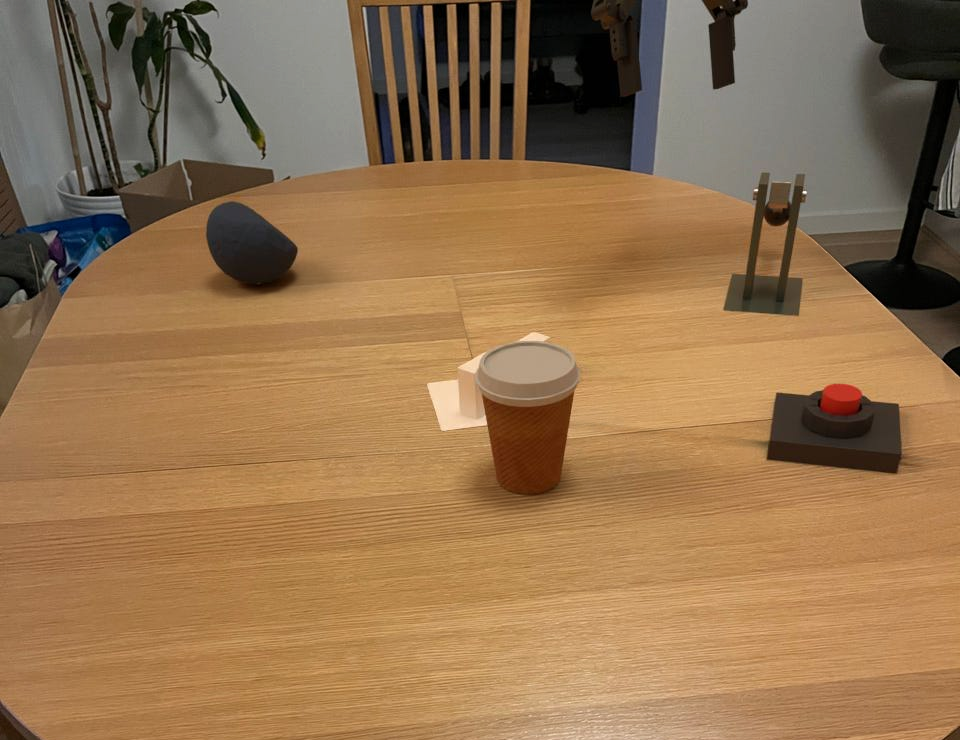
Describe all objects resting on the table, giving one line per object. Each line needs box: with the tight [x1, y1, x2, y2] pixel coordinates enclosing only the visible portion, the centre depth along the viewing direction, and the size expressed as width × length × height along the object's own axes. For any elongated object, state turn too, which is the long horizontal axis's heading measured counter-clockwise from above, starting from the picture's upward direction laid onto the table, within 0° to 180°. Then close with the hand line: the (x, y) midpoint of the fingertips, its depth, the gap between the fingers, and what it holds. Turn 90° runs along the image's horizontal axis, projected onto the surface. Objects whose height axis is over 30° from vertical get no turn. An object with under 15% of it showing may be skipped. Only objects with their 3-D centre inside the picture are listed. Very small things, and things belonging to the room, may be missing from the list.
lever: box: [763, 181, 792, 227], centre depth 120 cm, size 17×4×4 cm, turn 164°
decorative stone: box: [205, 200, 299, 285], centre depth 131 cm, size 12×12×10 cm
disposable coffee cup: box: [475, 340, 581, 495], centre depth 90 cm, size 10×10×12 cm
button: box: [820, 383, 863, 416], centre depth 93 cm, size 4×4×2 cm
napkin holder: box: [426, 331, 552, 432], centre depth 104 cm, size 15×11×6 cm
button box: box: [766, 389, 903, 474], centre depth 95 cm, size 12×10×4 cm
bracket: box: [722, 172, 808, 317], centre depth 117 cm, size 12×9×15 cm
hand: (678, 90), depth 106 cm, fingers open, 13 cm apart
